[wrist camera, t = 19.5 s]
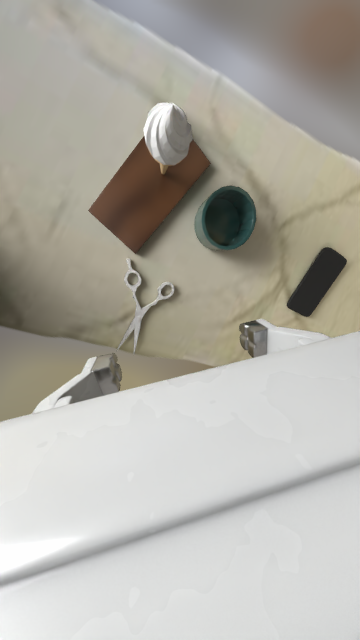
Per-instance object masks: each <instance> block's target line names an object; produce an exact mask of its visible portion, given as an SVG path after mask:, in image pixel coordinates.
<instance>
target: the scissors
mask: <svg viewBox="0 0 360 640" xmlns="http://www.w3.org/2000/svg"><path fill="white" fill-rule="evenodd" d="M127 263H128V267H129V271H127V273H126V275H125V280H124V281H125V283H126V285H127V286H128V287H129V288H130V289H131V290H132V292H133V298H134V299H135V301H136V303H137V305H136V313H135V318H134V320H133V321H132V323H131V324H130V326H129V328H128V330H127V331H126V333H125V335H124V337H123V339H122V341H121V343H120V344H119V346H118V348H117V350H118V349H119V347H120V346H121V345H122V344H123V342H124V341H125V340H126V338H127V337H128V336H129V334H130V333H131V332H132V331H133V329H134V328H135V330H134V353H135V349H136V344H137V340H138V335H139V330H140V325H141V319H142V318H143V316H144V315H145V313H146V311H147V310H148V309H149V308H150V307H151V306H152V305H156V303H157V301H158V300H161V299H167V298H169V297H171V296H172V295H173V292H174V286H173V284H172V283H170V282H165V283H163V284H162V285H160V287H159V288H158V295H159V296H158V297H157V298H156V300H155V301H154V302H152V303H151V304H149V305H147V306H144V307H143V308H141V307H140V304H139V302H138V300H137V298H136V294H135V292H136V288H137V287H138V286H139V285H140V284H141V277H140V275H139V273H138V272H137V271H135V270H133V269H132V267H131V264H130V263H131V261H130V259H127ZM130 273H135V274H136V275H137V276H138V282H137V284H136V285H134V286H133V285H130V284H129V283H128V279H127V278H128V275H129V274H130ZM165 285H170V286H171V287H172V291H171V294H169V295H167V296H162V295H161V290H162V288H163V287H164V286H165Z"/></svg>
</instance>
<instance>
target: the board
mask: <svg viewBox="0 0 360 640" xmlns="http://www.w3.org/2000/svg"><path fill="white" fill-rule="evenodd" d="M210 164H211V163H210V162H209V160H208V159H207V158H206V156H205V155H204V154H203V152H202V151H201V150H200V148H199V147H198V145H197V144H196V143H195V141H194V140H193V139H192V141H191V142H190V144H189V150H188V154H187V156H186V157H185V158H184V159H183V160H182V161H181V162H180V163H178V164H176V165H173V166H168V168H167V170H166V172H165V174H162V173H161V168H160V163H158V162H157V161H156V160H155V159H154V158H153V156H152V155H151V154H150V152H149V149H148V147H147V145H146V141H145V135H144V137H143V138H142V139H141V141H140V142H139V143H138V145H137V146H136V147H135V149H134V150H133V151H132V153H131V154H130V155H129V157H128V158H127V159H126V161H125V162H124V163H123V165H122V166H121V167H120V169H119V170H118V171H117V173H116V174H115V175H114V177H113V178H112V179H111V181H110V182H109V183H108V185H107V186H106V187H105V189H104V190H103V191H102V193H101V194H100V195H99V197H98V198H97V199H96V201H95V202H94V203H93V205H92V206H91V207H90V209H89V210H88V211H89V212H90V213H91V214H92V215H93V216H95V217H96V218H97V219H98V220H99V221H100V222H101V223H102V224H103V225H104V226H106V227H107V228H108V229H109V230H110V231H111V232H112V233H113V234H114V235H115V236H116V237H118V238H119V239H120V240H121V241H122V242H123V243H124V244H125V245H126V246H127V247H129V248H130V249H131V250H132V251H133V252H134V253H135V254H136V253H137V252H138V251H139V249H140V248H141V247H142V246H143V245H144V243H145V242H146V241H147V240H148V239H149V237H150V236H151V235H152V234H153V233H154V231H155V230H156V229H157V228H158V227H159V225H160V224H161V223H162V222H163V221H164V219H165V218H166V217H167V216H168V215H169V213H170V212H171V211H172V210H173V209H174V207H175V206H176V205H177V204H178V203H179V201H180V200H181V199H182V198H183V197H184V195H185V194H186V193H187V192H188V191H189V189H190V188H191V187H192V186H193V185H194V183H195V182H196V181H197V180H198V179H199V177H200V176H201V175H202V174H203V173H204V171H205V170H206V169H207V168H208V167H209V165H210Z"/></svg>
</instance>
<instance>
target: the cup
mask: <svg viewBox="0 0 360 640" xmlns="http://www.w3.org/2000/svg"><path fill="white" fill-rule="evenodd" d="M255 222H256V209H255V205H254V202H253V200H252V198H251V197H250V196H249V194H248V193H247V192H246V191H244V190H243V189H241V188H240V187H236V186H226V187H222V188H220V189H218V190H217V191H215V192H213V193H212V194H211V195H210V196H209V197H208V198H207V199H206V200H205V201H204V202H203V203H202V205H201V206H200V207H199V209H198V211H197V213H196V216H195V223H194V226H195V232H196V235H197V238H198V239H199V241H200V242H201V244H203V245H204V246H205V247H207V248H208V249H211V250H217V251H218V250H231V249H235V248H237V247H239V246H241V245H243V244H244V243H245V242H246V241H247V240H248V239H249V237H250V235H251V234H252V232H253V230H254V226H255Z"/></svg>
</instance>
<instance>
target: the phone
mask: <svg viewBox="0 0 360 640" xmlns="http://www.w3.org/2000/svg"><path fill="white" fill-rule="evenodd" d="M346 262H347V260H346V259H345V258H344V257H343V256H341V255H340V254H339V253H337V252H336V251H334V250H333V249H331V248H329V247H326V248H323V249H322V250H321V252H320V253H319V255H318V256H317V258H316V259H315V261H314V263H313V264H312V266H311V267H310V269H309V270H308V272H307V273H306V275H305V276H304V278H303V279H302V281H301V283H300V284H299V286H298V287H297V289H296V290H295V292H294V293H293V295H292V296H291V298H290V300H289V301H288V303H287V307H288V308H290V309H292V310H294V311H295V312H297V313H299V314H301V315H303V316H306V317H308V316H310V315H311V314H312V312H313V311H314V310H315V308H316V307H317V305H318V304H319V302H320V301H321V300H322V298H323V297H324V295H325V294H326V292H327V291H328V289H329V288H330V287H331V285H332V284H333V282H334V281H335V279H336V278H337V277H338V275H339V274H340V272H341V271H342V269H343V268H344V267H345V265H346Z"/></svg>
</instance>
